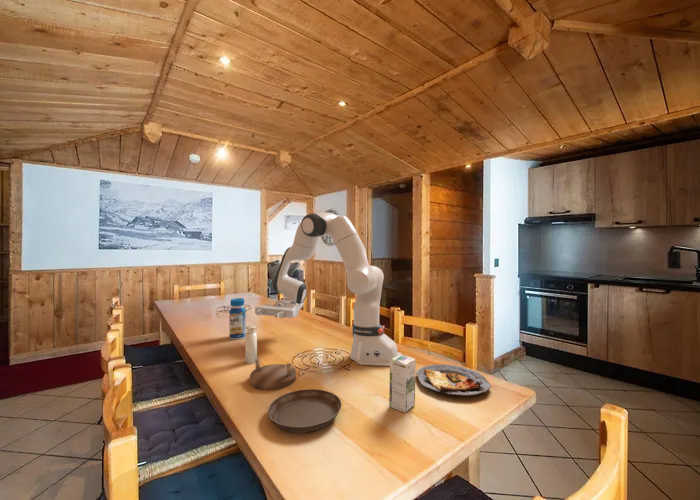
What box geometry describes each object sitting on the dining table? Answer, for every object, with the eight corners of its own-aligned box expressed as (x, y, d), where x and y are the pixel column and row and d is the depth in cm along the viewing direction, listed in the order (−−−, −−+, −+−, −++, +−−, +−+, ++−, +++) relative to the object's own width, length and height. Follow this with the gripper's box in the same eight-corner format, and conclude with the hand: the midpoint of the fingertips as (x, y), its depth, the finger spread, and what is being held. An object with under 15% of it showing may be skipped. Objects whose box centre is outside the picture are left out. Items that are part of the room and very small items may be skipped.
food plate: (501, 401, 97) (501, 390, 97) (426, 401, 97) (426, 390, 97) (472, 370, 122) (471, 361, 122) (412, 370, 122) (411, 361, 122)
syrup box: (398, 399, 98) (398, 353, 98) (415, 405, 94) (415, 358, 94) (388, 407, 94) (388, 359, 93) (406, 413, 90) (406, 364, 89)
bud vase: (259, 360, 131) (259, 325, 131) (252, 364, 127) (252, 328, 126) (250, 359, 132) (249, 324, 132) (243, 363, 128) (242, 327, 128)
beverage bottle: (249, 336, 164) (249, 298, 163) (236, 341, 157) (235, 301, 156) (239, 334, 168) (238, 297, 168) (225, 338, 161) (225, 299, 161)
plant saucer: (254, 416, 89) (254, 405, 89) (312, 391, 104) (312, 382, 104) (296, 450, 74) (296, 436, 74) (356, 416, 89) (356, 405, 89)
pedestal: (303, 373, 118) (303, 356, 117) (281, 393, 102) (281, 373, 102) (266, 368, 123) (266, 351, 122) (240, 386, 107) (240, 367, 107)
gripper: (264, 300, 157) (247, 305, 144) (301, 303, 151) (286, 309, 137) (264, 312, 157) (247, 319, 144) (301, 316, 151) (286, 323, 138)
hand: (266, 314), depth 141 cm, fingers open, 8 cm apart
